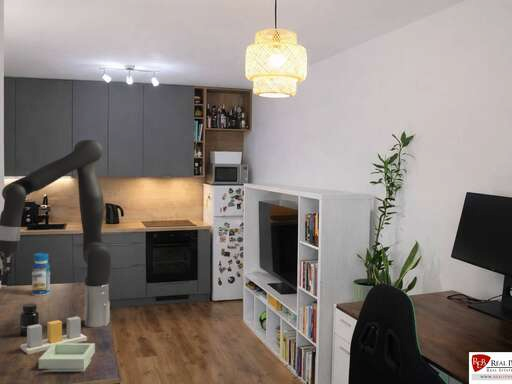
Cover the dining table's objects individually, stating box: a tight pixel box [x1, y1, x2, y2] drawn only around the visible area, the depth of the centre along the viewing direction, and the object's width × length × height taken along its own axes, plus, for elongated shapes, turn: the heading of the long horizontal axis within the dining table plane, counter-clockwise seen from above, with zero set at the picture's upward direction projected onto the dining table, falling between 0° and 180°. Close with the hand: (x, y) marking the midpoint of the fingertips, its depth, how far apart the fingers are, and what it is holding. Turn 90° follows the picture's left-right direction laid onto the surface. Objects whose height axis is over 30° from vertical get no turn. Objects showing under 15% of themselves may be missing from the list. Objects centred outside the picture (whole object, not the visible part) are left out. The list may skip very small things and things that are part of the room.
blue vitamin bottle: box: [31, 252, 51, 297], centre depth 250 cm, size 8×8×20 cm
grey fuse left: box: [26, 323, 43, 348], centre depth 175 cm, size 4×3×8 cm
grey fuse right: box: [66, 316, 82, 339], centre depth 185 cm, size 4×3×8 cm
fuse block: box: [20, 333, 88, 355], centre depth 180 cm, size 21×7×2 cm, turn 134°
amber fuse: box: [46, 319, 63, 344], centre depth 180 cm, size 4×3×8 cm
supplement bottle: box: [19, 302, 40, 338], centre depth 190 cm, size 7×7×12 cm
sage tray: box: [38, 342, 96, 373], centre depth 166 cm, size 14×14×4 cm
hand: (2, 282), depth 182 cm, fingers open, 8 cm apart
